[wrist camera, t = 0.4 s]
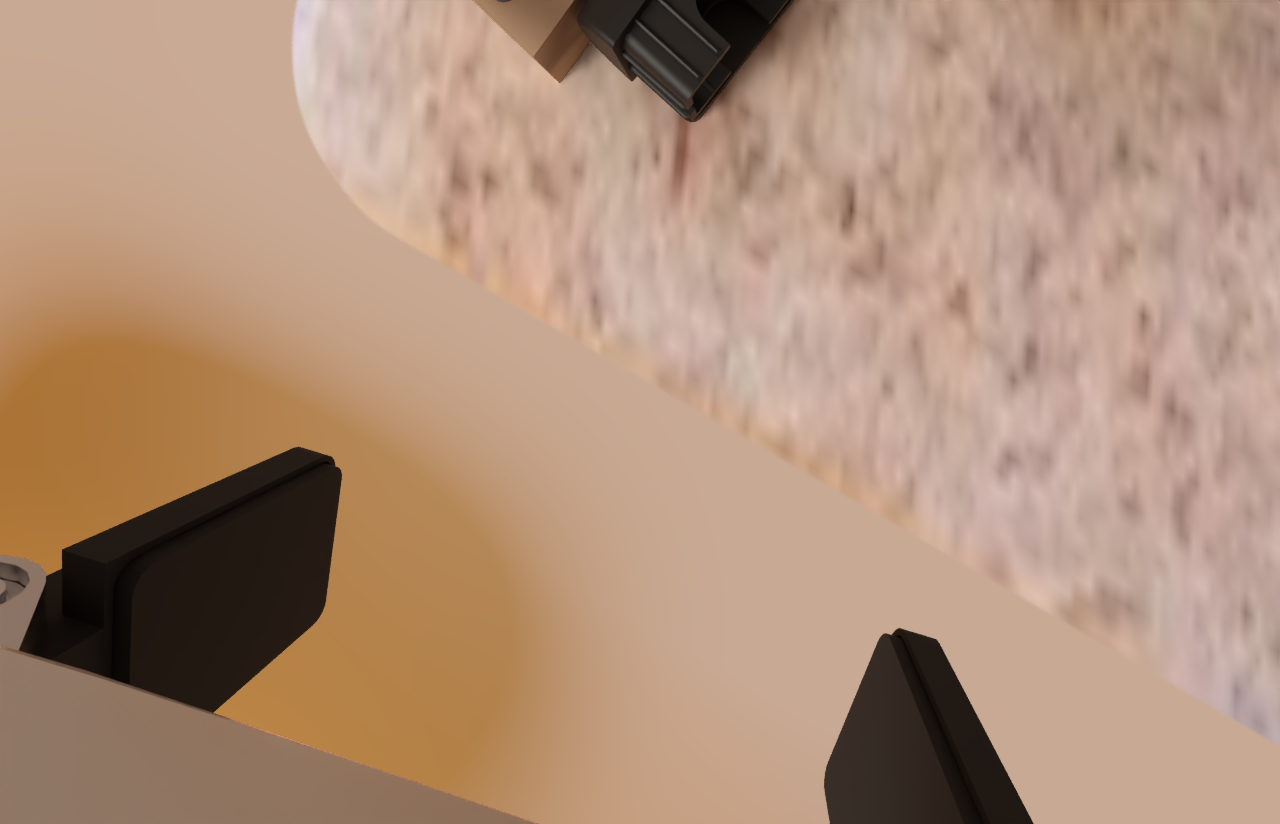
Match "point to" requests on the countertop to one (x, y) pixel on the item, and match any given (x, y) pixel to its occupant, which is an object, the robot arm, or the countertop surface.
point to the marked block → (542, 29)
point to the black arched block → (680, 43)
